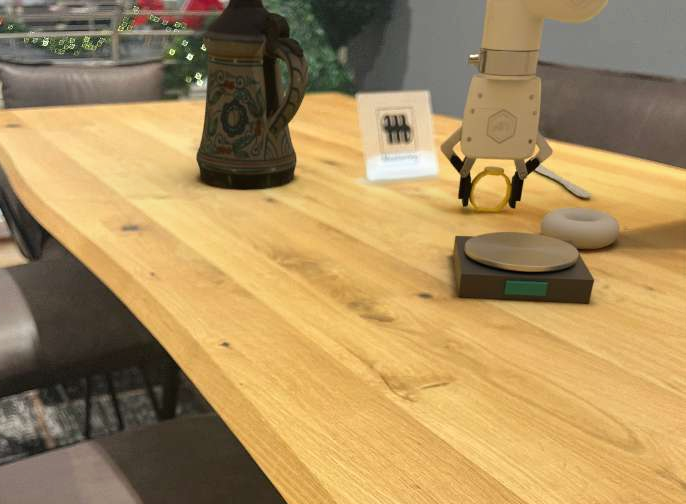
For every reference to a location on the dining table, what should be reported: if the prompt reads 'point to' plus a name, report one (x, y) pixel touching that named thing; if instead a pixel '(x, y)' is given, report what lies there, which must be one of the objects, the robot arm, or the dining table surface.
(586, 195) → the butter knife
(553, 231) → the donut
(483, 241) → the scale pan
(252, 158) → the beer stein
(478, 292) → the scale
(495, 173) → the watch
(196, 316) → the dining table surface
